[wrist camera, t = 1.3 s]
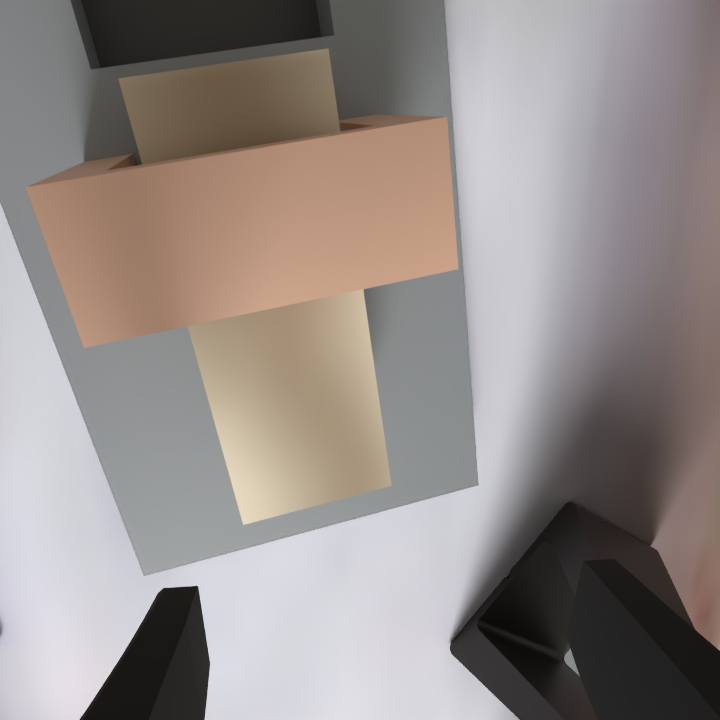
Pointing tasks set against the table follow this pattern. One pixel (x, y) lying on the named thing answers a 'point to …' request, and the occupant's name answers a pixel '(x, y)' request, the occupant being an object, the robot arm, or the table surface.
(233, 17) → the deck
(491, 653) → the phone stand
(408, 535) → the table surface
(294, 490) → the block
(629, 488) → the table surface
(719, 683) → the robot arm
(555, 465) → the table surface
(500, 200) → the table surface
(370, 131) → the tunnel
